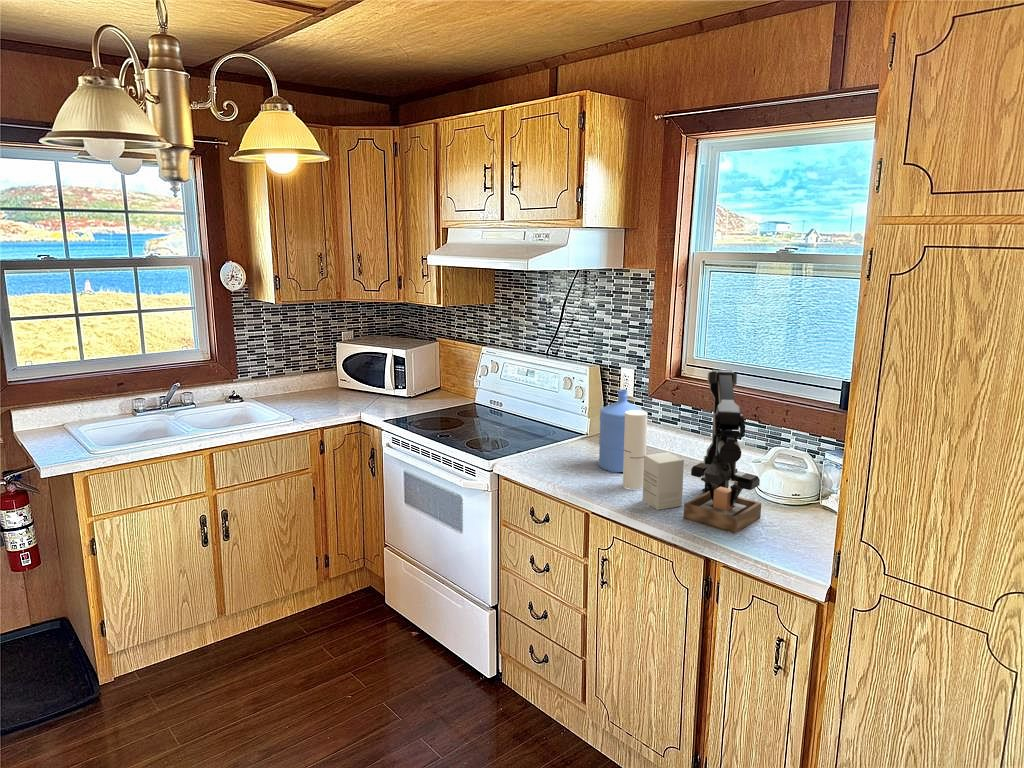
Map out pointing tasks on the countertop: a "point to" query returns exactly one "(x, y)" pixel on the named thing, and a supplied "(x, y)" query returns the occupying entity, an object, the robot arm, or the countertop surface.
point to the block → (722, 498)
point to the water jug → (613, 433)
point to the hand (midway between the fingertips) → (722, 503)
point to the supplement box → (663, 480)
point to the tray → (722, 513)
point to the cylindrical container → (634, 448)
